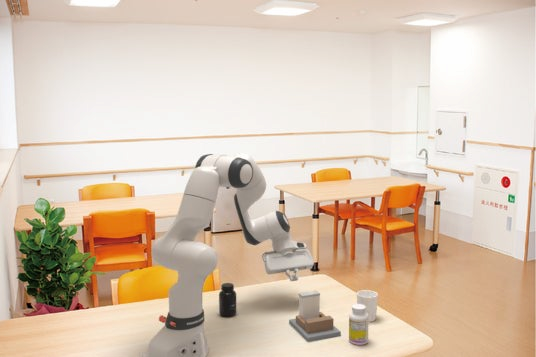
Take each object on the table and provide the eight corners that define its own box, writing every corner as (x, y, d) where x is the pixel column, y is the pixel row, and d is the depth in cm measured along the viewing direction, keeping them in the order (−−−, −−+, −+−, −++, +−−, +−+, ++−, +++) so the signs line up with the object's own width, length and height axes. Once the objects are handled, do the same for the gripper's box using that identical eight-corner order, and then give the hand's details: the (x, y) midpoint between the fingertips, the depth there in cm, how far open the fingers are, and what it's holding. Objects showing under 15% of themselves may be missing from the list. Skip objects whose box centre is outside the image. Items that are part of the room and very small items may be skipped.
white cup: (353, 320, 204) (354, 295, 203) (360, 313, 211) (360, 288, 209) (373, 324, 200) (374, 298, 199) (379, 316, 207) (380, 291, 206)
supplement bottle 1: (236, 317, 208) (235, 287, 206) (218, 317, 208) (217, 288, 206) (237, 310, 215) (236, 281, 213) (220, 310, 215) (219, 281, 213)
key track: (340, 335, 191) (340, 321, 191) (307, 341, 187) (307, 327, 186) (320, 318, 207) (320, 304, 206) (289, 323, 202) (289, 309, 201)
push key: (319, 320, 200) (320, 293, 199) (302, 323, 198) (302, 296, 196) (316, 317, 203) (316, 290, 202) (298, 320, 201) (298, 293, 199)
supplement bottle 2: (355, 335, 192) (355, 301, 190) (371, 340, 187) (372, 305, 185) (345, 342, 186) (345, 307, 184) (362, 347, 182) (362, 311, 180)
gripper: (262, 248, 213) (272, 280, 205) (309, 243, 220) (320, 273, 212) (259, 256, 217) (267, 287, 210) (304, 250, 225) (315, 280, 217)
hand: (294, 280), depth 211 cm, fingers closed
